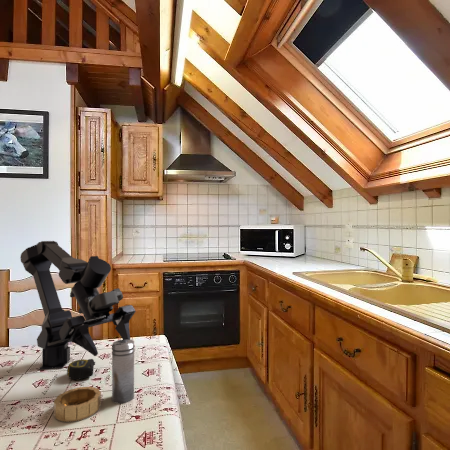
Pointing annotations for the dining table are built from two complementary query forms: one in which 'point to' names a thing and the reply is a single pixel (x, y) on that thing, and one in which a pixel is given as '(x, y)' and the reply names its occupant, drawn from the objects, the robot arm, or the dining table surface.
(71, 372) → the tape measure
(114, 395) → the grey metal cylinder
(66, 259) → the robot arm
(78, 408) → the ring collar
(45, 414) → the dining table surface
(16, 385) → the dining table surface
